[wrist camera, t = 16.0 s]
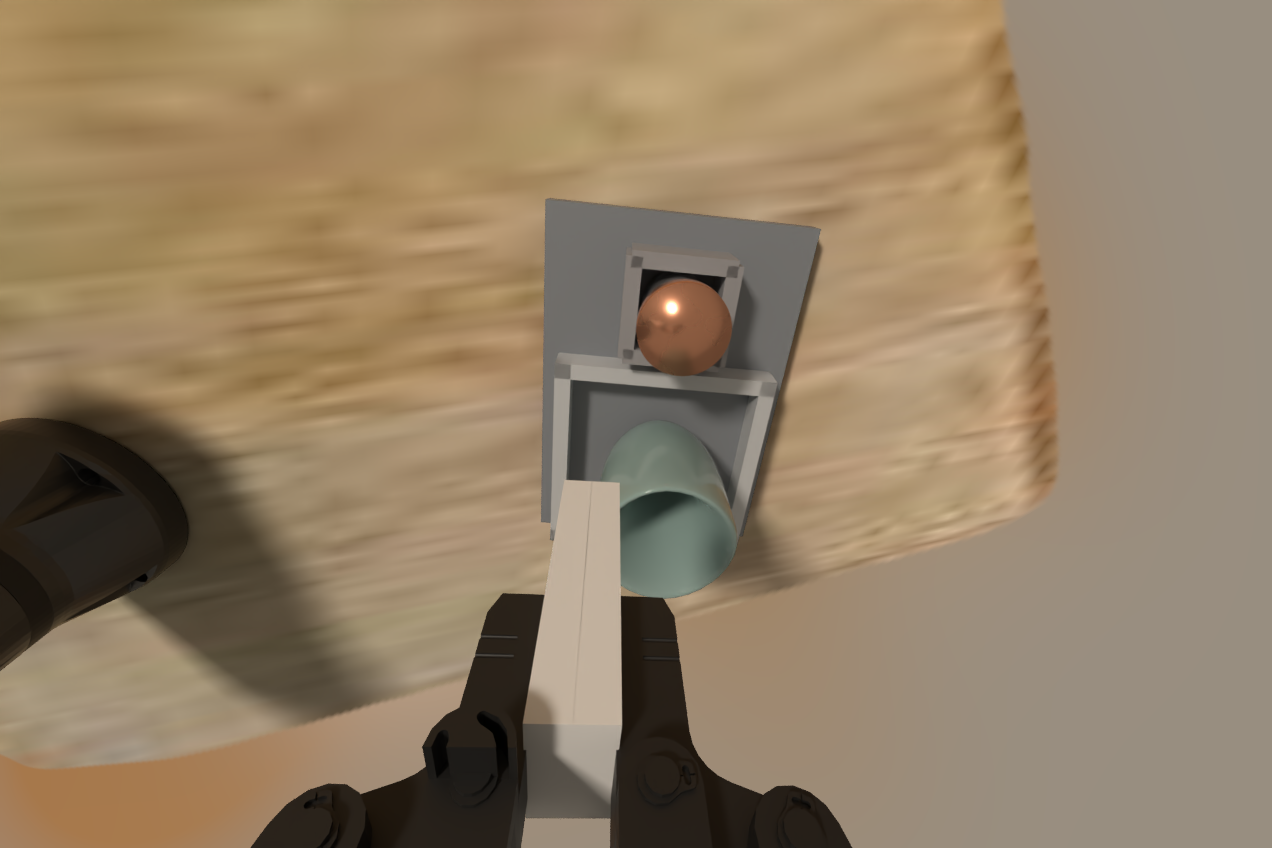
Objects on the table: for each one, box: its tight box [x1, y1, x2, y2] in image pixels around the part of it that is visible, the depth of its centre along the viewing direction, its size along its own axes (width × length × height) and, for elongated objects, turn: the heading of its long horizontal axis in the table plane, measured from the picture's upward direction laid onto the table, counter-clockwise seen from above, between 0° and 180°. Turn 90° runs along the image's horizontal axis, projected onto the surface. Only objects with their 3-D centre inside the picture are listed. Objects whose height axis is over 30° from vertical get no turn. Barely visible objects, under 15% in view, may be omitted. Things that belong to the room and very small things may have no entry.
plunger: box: [636, 271, 732, 376], centre depth 27 cm, size 5×5×6 cm
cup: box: [599, 420, 737, 599], centre depth 31 cm, size 8×8×10 cm
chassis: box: [541, 198, 821, 543], centre depth 32 cm, size 16×23×5 cm
